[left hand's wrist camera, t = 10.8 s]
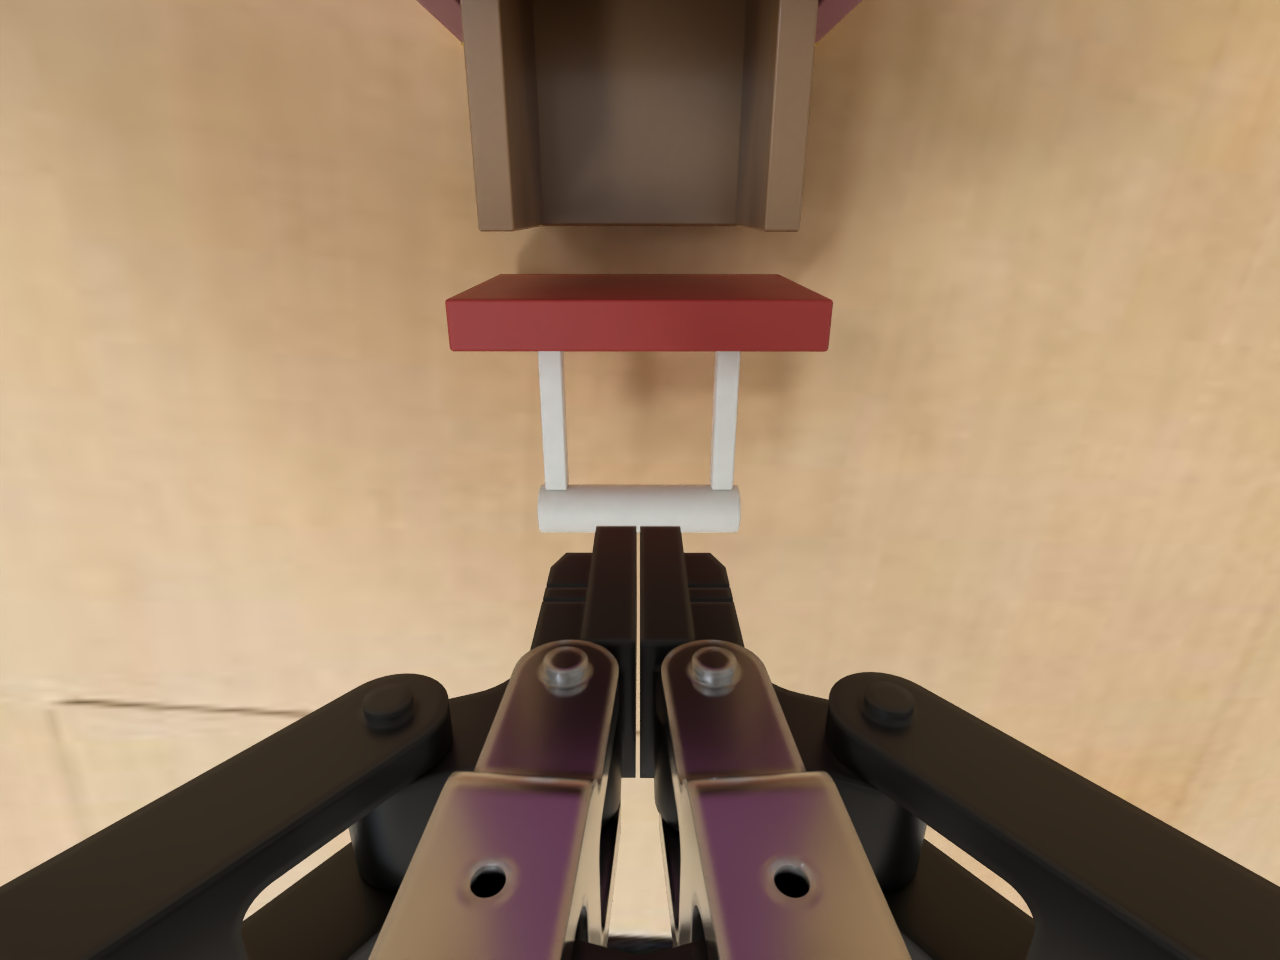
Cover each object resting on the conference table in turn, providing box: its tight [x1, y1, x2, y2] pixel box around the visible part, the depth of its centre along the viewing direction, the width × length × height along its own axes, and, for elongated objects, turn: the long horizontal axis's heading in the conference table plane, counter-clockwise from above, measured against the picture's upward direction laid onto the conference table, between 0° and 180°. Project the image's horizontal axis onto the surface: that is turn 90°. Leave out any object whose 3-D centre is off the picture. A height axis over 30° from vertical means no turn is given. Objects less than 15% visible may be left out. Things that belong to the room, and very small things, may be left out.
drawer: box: [445, 0, 833, 533], centre depth 17 cm, size 22×9×6 cm, turn 0°
